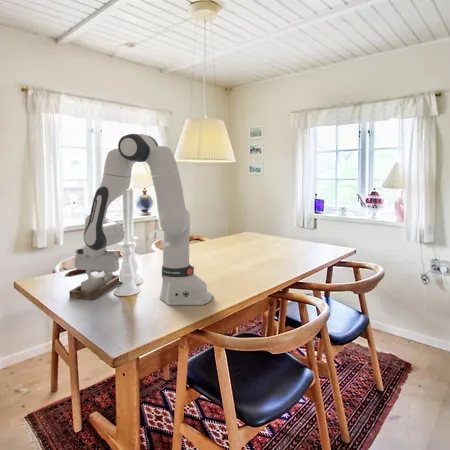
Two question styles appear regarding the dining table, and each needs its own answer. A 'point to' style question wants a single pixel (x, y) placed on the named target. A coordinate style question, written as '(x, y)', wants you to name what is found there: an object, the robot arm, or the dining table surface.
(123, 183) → the robot arm
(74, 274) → the gavel
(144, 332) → the dining table surface
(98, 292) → the brown wooden tray
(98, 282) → the clay strip
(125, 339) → the dining table surface
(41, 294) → the dining table surface
